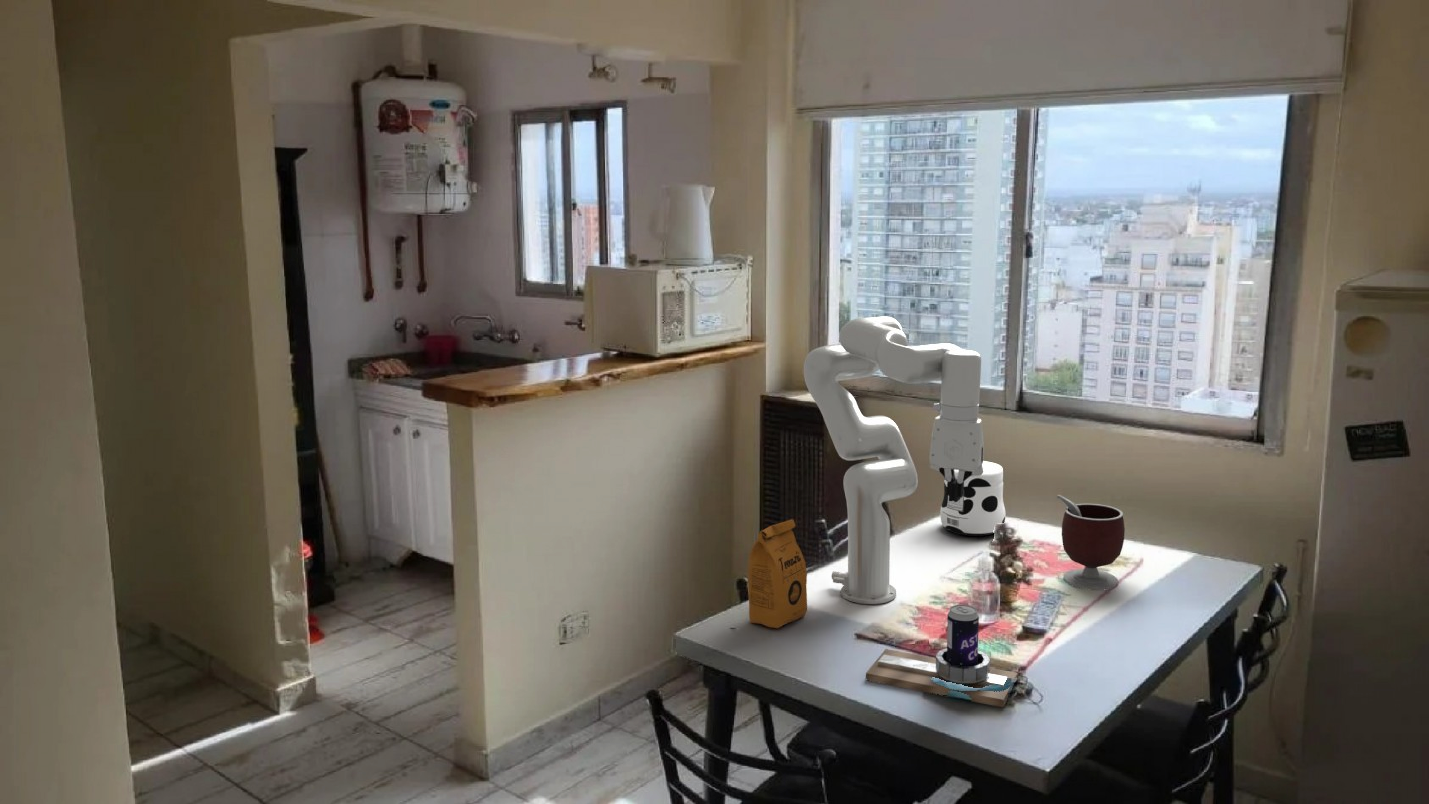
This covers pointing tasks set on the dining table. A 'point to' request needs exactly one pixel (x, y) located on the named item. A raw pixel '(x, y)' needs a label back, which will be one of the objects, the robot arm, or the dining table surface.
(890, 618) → the dining table surface
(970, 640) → the beverage can
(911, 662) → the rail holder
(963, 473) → the robot arm
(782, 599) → the coffee package
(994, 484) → the milk container
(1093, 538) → the mate gourd
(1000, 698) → the mount board
